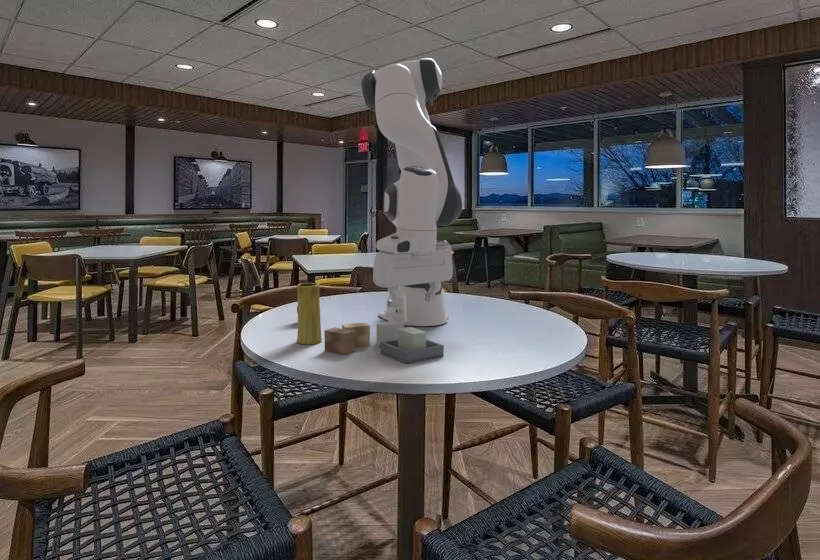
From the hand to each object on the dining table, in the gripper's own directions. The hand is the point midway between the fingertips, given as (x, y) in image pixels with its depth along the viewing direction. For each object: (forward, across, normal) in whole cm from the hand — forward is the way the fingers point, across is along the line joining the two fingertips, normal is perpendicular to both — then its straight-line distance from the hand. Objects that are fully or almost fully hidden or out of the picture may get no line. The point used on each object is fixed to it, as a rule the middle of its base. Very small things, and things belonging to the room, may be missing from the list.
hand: (413, 303), depth 117 cm
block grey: (+12, -1, -10) cm, 16 cm away
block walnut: (+12, +13, -11) cm, 21 cm away
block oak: (+13, +6, -13) cm, 20 cm away
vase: (+13, +14, -22) cm, 30 cm away
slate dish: (+12, +1, +1) cm, 12 cm away
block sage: (+11, +1, +1) cm, 11 cm away
